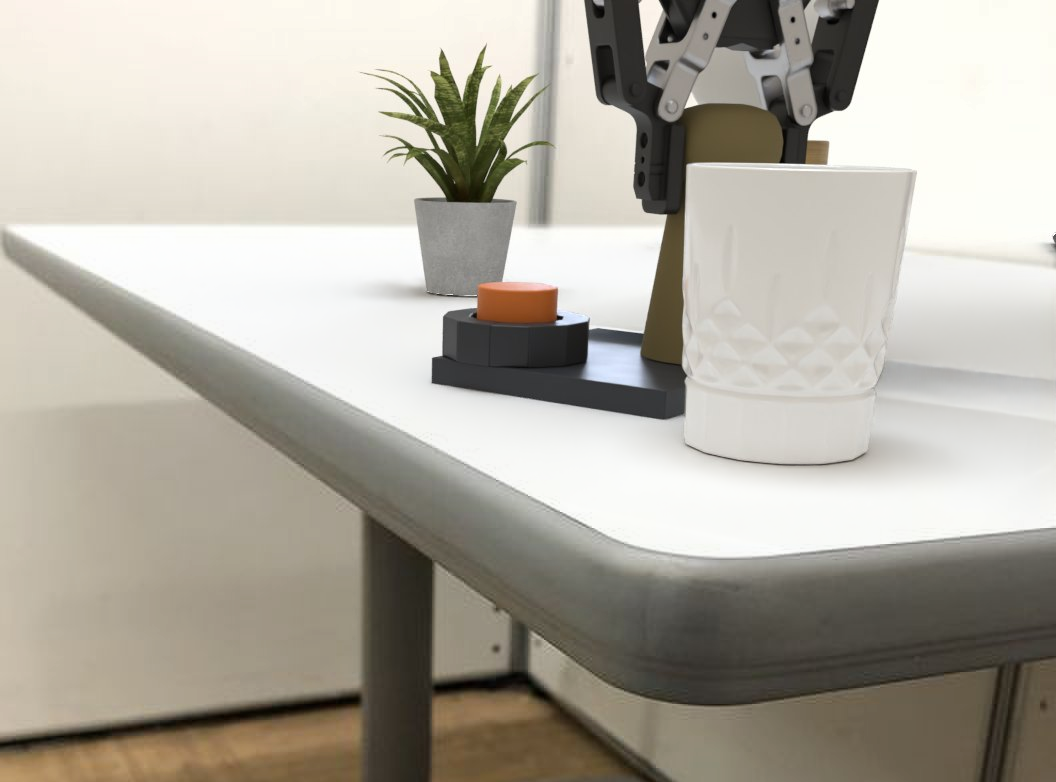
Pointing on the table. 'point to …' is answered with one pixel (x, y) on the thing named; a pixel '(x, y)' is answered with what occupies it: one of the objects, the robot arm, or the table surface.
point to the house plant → (463, 180)
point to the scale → (558, 364)
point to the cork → (707, 140)
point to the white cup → (788, 305)
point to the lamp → (747, 85)
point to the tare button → (517, 302)
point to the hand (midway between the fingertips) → (716, 211)
